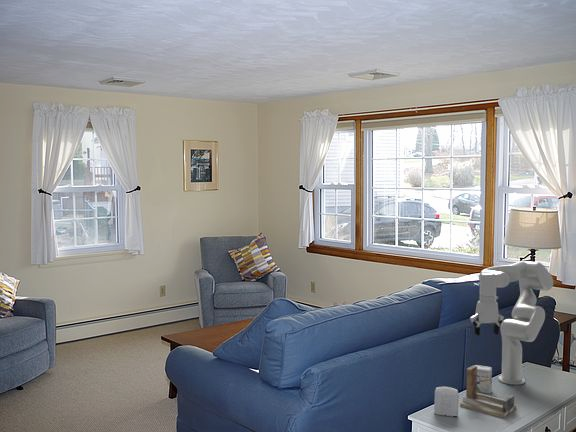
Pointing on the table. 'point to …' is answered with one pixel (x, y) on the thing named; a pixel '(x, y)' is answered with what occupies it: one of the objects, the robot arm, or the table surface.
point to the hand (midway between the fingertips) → (486, 334)
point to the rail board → (490, 404)
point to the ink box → (484, 379)
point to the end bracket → (471, 382)
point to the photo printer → (446, 401)
